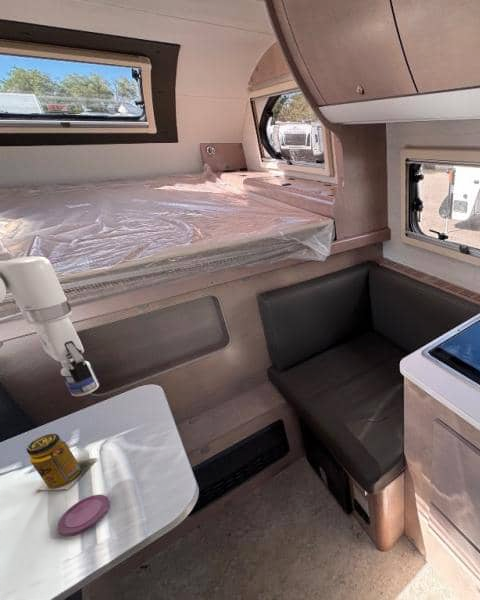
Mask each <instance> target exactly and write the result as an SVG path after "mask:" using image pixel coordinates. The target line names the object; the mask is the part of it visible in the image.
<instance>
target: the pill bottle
mask: <svg viewBox="0 0 480 600" xmlns="http://www.w3.org/2000/svg"><path fill="white" fill-rule="evenodd" d="M70 356H71V355H70ZM67 357H69V356H67ZM83 359H84V357H83ZM69 360H70V361H71V363H72V361H74V360H73V358H72V359H69ZM84 361H85V362H86V363H87V366H88V368H89V370H90V372H91V374H92V377H90V378H88V379H85V380H83V381H80V382H78V383H76V382H75V381H74V379H73V377H72V375H71V373H70V371H69V369H70V367H69V366H68V364H67V362H66V361H65V360H62V361H61V362H60V363H61V365H60V367H61V366H62V367H63V368H62V367H61V369H60V375H61V377H62V378H63V381H64V382H65V384H66V386H67V388H68V391H69V392H70V395H72V396H73V397H82V396H87V395H89V394H92V393H93V392H95V391H96V390H98V389H99V387H100V383H99V380H98V378H97V376H96V373H95V371H94V370H93V367H92V365H91V363H90V362H89V361H87V360H85V359H84ZM60 363H59V364H60Z"/></svg>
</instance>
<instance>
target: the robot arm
mask: <svg viewBox="0 0 480 600" xmlns="http://www.w3.org/2000/svg"><path fill="white" fill-rule="evenodd" d="M7 293H9V294H11V295H12V297H13V299H14V301H15V303H16V305H17V306H18V309H19V310H20V312H21V314H22V317H23V318H24V320H25V322H26V323H27V324H29V325H33V327H34V329H35V332H36V334H37V337H38V338H39V341H40V344H41V345H42V349H43V350H44V351H45V352H46V354H48V356H50V357H51V358H52V359H53V360H55V361H56V362H59V365H60V367H61V369H62V368H63V367H62V366H61V363H60V362H61V361H62V360H65V361H66V362H67V364H68V366H69V367H70V369H69V371H70V373H71V375H72V377H73V379H74V381H75V382H76V383H78V382H80V381H83V380H85V379H88V378H90V377H92V374H91V372H90V370H89V368H88V366H87V363H86V362H85V361H86V360H85V359H83V358H84V357H83V355H82V354H84V352H85V349H84V346H83V344H82V342H81V339H80V337H79V335H78V333H77V330H76V329H75V326H74V325H73V323H72V322H71V319H70V317H69V316H71V315H72V314H73V309H72V307H71V305H70V303H69V300H68V299H67V296H66V294H65V292H64V290H63V288H62V285H61V282H60V281H59V278H58V277H57V274H56V271H55V270H54V267H53V264H52V263H51V261H50V260H49V259H48V258H46V257H45V256H40V255H39V256H37V255H32V256H21V257H16V258H12V259H8V260H0V304H1V303H3V301H4V300H5V299H6V296H7ZM70 355H71V356H70ZM67 356H69V357H67ZM72 358H73V360H74V361H72V363H71V361H70V360H69V359H72Z"/></svg>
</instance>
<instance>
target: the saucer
mask: <svg viewBox="0 0 480 600" xmlns="http://www.w3.org/2000/svg"><path fill="white" fill-rule="evenodd" d="M110 507H111V501H110V499H109V497H108V496H107V495H106V494H93V495H89V496H87V497H85V498H83V499H81V500H79V501H77V502H76V503H74V504H73V505H72V506H71V507H69V508H68V509H67V510H65V512H64V513H63V514H62V515H61V517H60V518H59V520H58V522H57V528H56V529H57V531H58V533H59V534H60V535H61V536H65V537H70V536H71V537H72V536H76V535H79V534H81V533H84V532H85V531H87V530H89V529H91V528H93V527H94V526H95V525H96V524H98V523H99V522H100V521H101V520H102V519H103V518H104V517H105V515H106V514H107V513H108V511H109V509H110Z"/></svg>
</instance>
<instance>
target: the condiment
mask: <svg viewBox="0 0 480 600" xmlns="http://www.w3.org/2000/svg"><path fill="white" fill-rule="evenodd" d="M26 452H27V454H28V457H29V461H30V463H31V465H32V466H33V467H34V468H35V470H36V471H37V473H38V474H39V476H40V478H41V479H42V480H43V483H42V484H41V485H40V486H39V487H38V488H36V491H60V490H70V488H71V487H72V486H73V485H74V484H75V483H76V482H77V481H78V480H79V479H80V478H81V477H82V476H83V475H84V473H85V472H86V471H87V470H88V469H89V468H90V467H91V466H92V465H93V463H94V462H95V461H96V460H98V457H92V458H91V457H88V458H76V457H75V456H74V454H73V453H72V450H71V449H70V448H69V446H68V444H67V442H66V441H65V440H63V439H62V438H61V437H60V435H58V434H57V433H48V434H44V435H42V436H40V437H39V436H38V437H37V438H35V439H34V440H32V442H30V443H29V444H28V445H27V446H26Z"/></svg>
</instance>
